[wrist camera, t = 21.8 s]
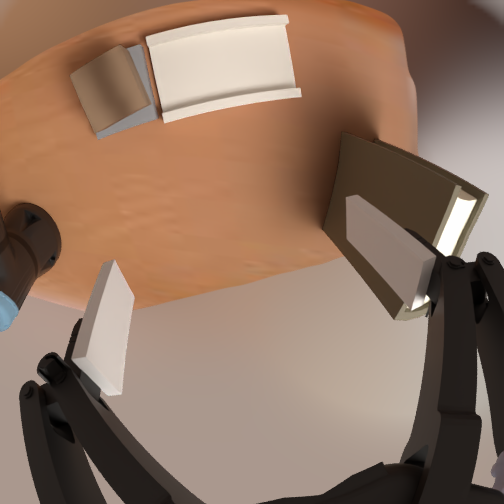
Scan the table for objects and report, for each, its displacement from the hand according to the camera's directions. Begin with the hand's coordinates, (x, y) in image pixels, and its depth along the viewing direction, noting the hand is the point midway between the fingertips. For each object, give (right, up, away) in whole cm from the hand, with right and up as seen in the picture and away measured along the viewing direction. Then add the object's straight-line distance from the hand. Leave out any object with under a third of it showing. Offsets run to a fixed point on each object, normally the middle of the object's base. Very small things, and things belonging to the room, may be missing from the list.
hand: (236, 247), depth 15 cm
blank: (-19, +24, +18) cm, 36 cm away
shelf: (-4, +30, +22) cm, 37 cm away
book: (+21, +13, +39) cm, 46 cm away
